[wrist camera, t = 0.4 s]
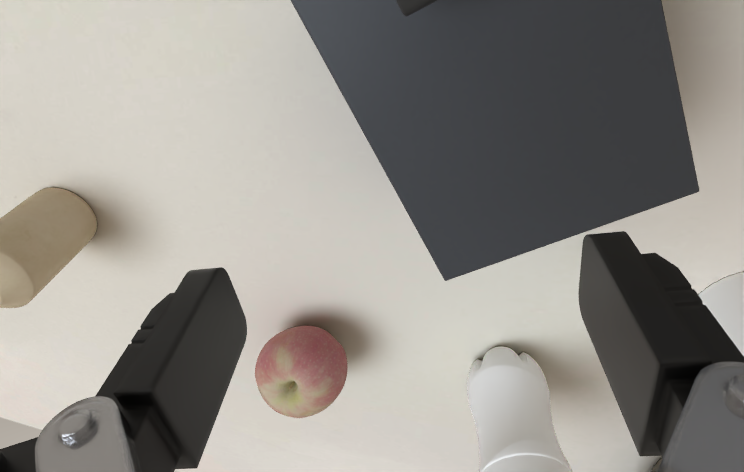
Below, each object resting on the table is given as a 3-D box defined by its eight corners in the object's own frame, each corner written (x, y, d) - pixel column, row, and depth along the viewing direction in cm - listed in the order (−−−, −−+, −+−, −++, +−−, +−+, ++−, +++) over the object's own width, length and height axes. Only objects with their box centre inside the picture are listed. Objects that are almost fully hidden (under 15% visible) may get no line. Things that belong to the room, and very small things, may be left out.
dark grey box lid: (285, -18, 22) (255, -2, 18) (609, -217, 18) (670, -258, 13) (444, 273, 30) (449, 332, 26) (692, 184, 26) (747, 237, 21)
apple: (350, 307, 45) (339, 375, 38) (353, 365, 49) (343, 437, 42) (264, 303, 45) (238, 371, 39) (274, 362, 50) (252, 432, 43)
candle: (110, 219, 42) (34, 297, 33) (77, 253, 44) (-3, 333, 35) (51, 173, 39) (-46, 243, 31) (19, 211, 42) (-79, 286, 33)
